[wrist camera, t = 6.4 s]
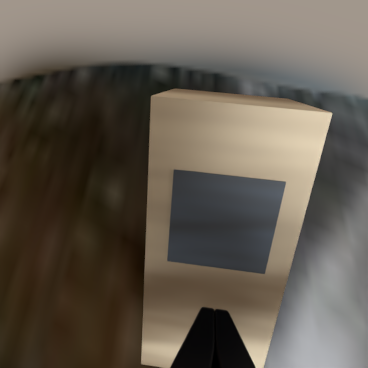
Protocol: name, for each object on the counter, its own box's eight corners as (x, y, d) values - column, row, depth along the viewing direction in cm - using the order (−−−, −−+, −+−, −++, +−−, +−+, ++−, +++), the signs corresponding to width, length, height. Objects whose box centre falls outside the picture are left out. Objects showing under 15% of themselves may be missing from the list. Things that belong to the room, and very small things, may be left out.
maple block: (259, 384, 12) (333, 113, 8) (140, 365, 12) (150, 96, 8) (246, 295, 16) (287, 98, 12) (161, 283, 17) (174, 88, 13)
